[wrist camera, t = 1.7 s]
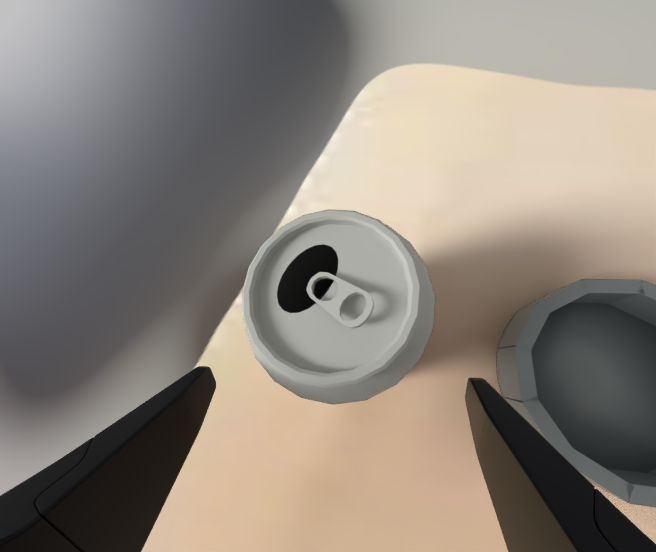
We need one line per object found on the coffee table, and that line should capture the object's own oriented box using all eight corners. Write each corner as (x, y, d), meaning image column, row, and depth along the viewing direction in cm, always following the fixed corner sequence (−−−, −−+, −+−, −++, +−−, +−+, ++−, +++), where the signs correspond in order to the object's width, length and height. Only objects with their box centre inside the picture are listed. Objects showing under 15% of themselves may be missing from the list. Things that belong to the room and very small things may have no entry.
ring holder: (762, 429, 15) (850, 443, 12) (581, 520, 15) (625, 554, 12) (605, 265, 19) (643, 247, 16) (461, 339, 19) (475, 334, 16)
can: (344, 265, 22) (307, 160, 11) (430, 319, 20) (492, 255, 9) (287, 343, 21) (181, 315, 10) (370, 411, 19) (352, 474, 8)
